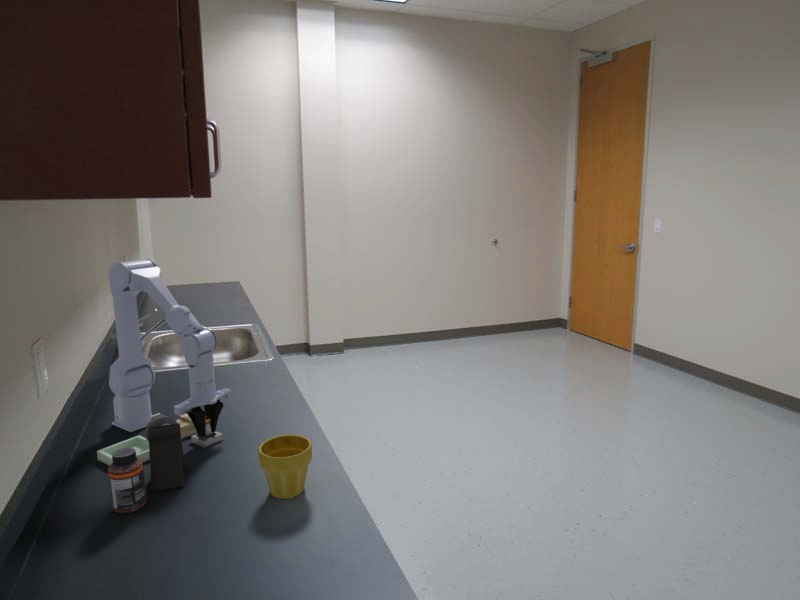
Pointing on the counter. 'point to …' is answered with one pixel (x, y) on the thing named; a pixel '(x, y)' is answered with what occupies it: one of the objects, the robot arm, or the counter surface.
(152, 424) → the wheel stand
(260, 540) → the counter surface
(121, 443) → the tray
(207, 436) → the pin
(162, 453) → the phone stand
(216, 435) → the pin socket
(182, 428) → the block
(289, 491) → the plant pot
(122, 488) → the supplement bottle
